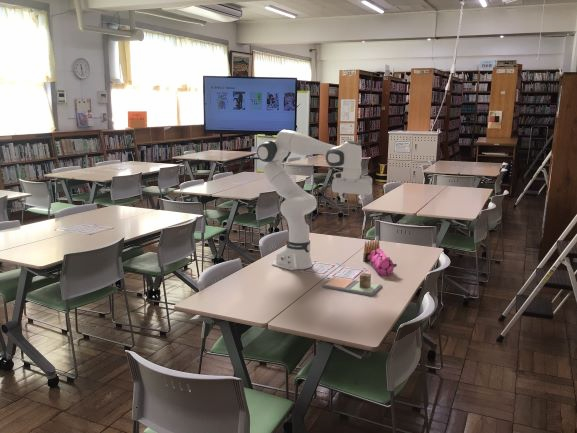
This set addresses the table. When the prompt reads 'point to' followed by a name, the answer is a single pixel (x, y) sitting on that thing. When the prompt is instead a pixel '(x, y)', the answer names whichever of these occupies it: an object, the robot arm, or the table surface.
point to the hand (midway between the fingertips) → (351, 202)
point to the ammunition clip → (370, 249)
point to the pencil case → (381, 262)
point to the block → (365, 280)
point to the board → (351, 286)
